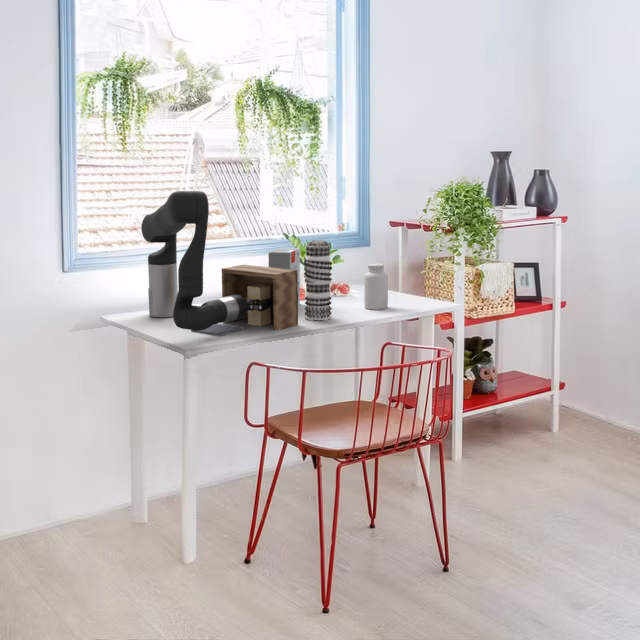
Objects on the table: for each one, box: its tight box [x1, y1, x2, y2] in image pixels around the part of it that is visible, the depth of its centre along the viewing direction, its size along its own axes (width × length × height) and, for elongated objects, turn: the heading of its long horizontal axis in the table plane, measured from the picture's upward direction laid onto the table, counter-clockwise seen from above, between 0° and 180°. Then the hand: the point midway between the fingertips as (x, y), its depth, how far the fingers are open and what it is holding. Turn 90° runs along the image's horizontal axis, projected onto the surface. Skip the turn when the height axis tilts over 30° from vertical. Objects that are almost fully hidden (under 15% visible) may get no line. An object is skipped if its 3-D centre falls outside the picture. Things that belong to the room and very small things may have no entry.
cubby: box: [221, 264, 299, 331], centre depth 299 cm, size 11×22×17 cm, turn 54°
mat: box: [190, 323, 244, 337], centre depth 291 cm, size 11×11×1 cm
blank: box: [247, 284, 272, 327], centre depth 299 cm, size 5×5×12 cm
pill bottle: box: [363, 262, 389, 311], centre depth 324 cm, size 8×8×15 cm
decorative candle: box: [303, 239, 333, 322], centre depth 306 cm, size 9×9×25 cm
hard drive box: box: [268, 247, 301, 305], centre depth 326 cm, size 16×8×20 cm, turn 168°
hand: (264, 300), depth 301 cm, fingers closed on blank, 5 cm apart
